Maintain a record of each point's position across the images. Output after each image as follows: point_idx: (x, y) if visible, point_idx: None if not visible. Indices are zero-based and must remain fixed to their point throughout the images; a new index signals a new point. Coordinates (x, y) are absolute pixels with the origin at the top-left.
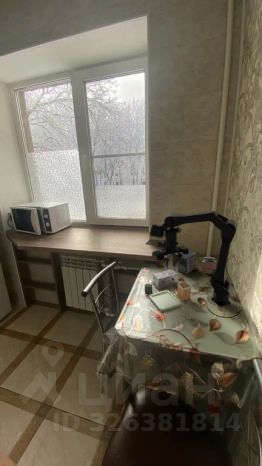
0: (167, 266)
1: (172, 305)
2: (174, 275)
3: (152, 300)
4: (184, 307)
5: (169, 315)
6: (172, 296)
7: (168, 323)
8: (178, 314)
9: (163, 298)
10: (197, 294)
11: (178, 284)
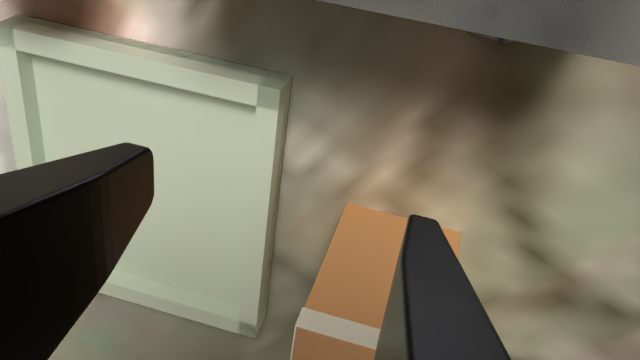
0: (77, 293)
1: (159, 304)
2: (542, 40)
3: (15, 122)
4: (277, 344)
5: (104, 317)
6: (248, 220)
7: (60, 353)
8: (175, 353)
9: (154, 159)
10: (574, 332)
11: (293, 340)
